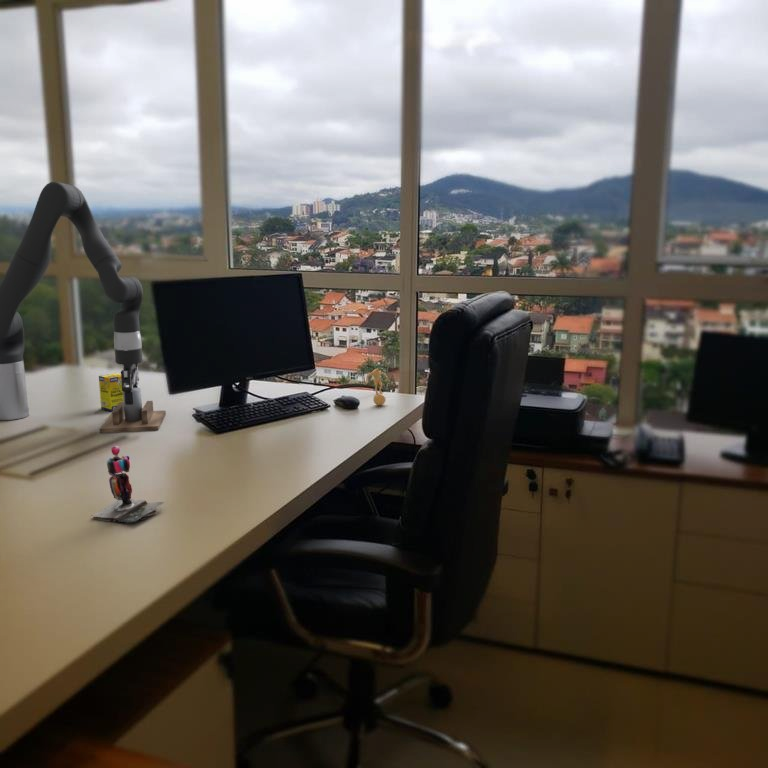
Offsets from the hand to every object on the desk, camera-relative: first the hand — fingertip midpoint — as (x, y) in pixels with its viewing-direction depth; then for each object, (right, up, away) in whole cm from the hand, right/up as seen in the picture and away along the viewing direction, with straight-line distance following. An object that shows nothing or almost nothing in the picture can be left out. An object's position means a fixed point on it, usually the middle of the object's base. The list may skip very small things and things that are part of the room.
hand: (131, 400), depth 217 cm
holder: (0, -7, +2) cm, 7 cm away
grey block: (0, -5, +1) cm, 6 cm away
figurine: (+73, -2, +23) cm, 76 cm away
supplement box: (-12, -3, +18) cm, 22 cm away
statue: (+22, -22, -66) cm, 73 cm away
